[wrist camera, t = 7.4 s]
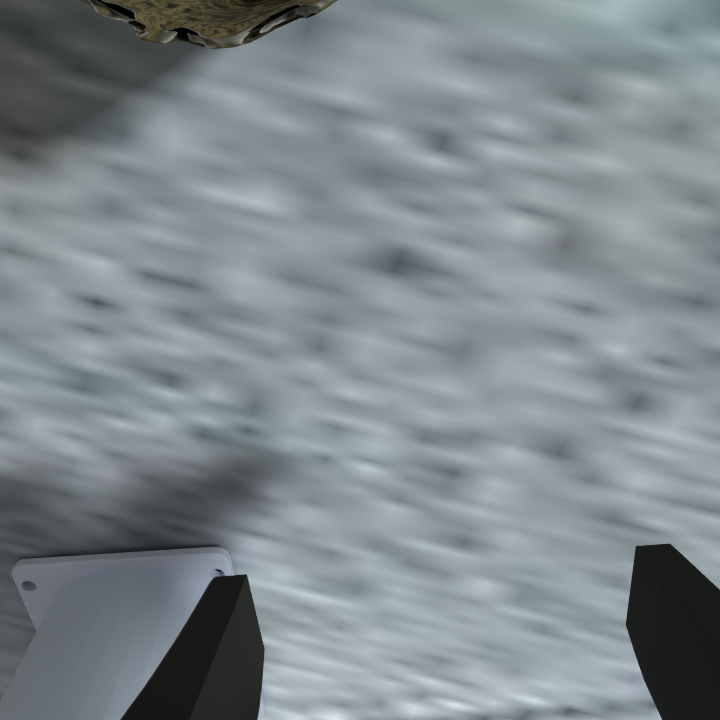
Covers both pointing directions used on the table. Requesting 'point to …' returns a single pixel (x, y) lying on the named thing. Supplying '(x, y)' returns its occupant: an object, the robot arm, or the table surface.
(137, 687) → the robot arm
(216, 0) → the cup
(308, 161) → the table surface
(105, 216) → the table surface
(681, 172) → the table surface
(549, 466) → the table surface
